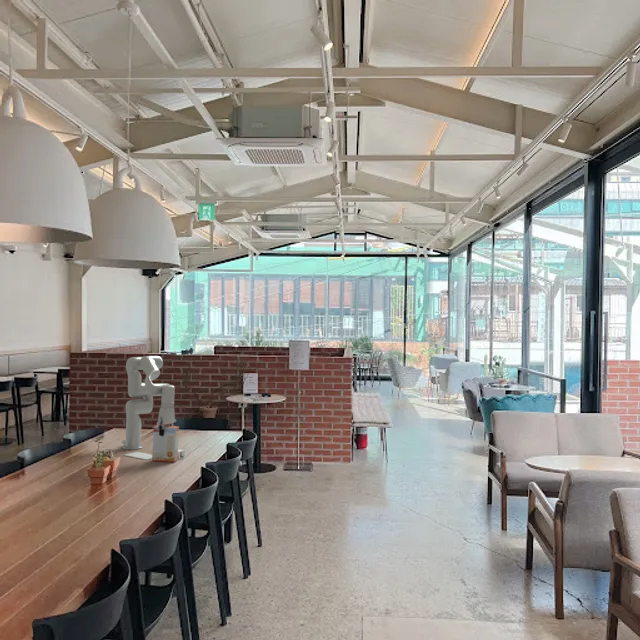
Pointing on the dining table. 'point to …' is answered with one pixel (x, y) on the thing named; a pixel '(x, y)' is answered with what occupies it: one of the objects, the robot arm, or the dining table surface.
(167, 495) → the dining table surface
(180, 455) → the off-white cubic block
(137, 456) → the white mat
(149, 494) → the dining table surface
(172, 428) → the cracker box
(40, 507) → the dining table surface
